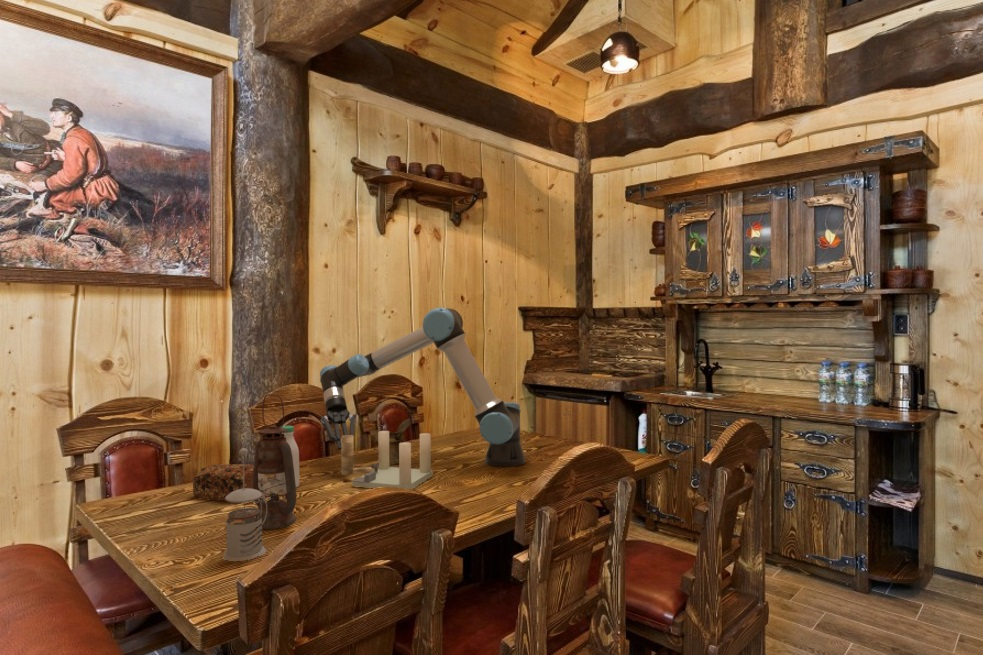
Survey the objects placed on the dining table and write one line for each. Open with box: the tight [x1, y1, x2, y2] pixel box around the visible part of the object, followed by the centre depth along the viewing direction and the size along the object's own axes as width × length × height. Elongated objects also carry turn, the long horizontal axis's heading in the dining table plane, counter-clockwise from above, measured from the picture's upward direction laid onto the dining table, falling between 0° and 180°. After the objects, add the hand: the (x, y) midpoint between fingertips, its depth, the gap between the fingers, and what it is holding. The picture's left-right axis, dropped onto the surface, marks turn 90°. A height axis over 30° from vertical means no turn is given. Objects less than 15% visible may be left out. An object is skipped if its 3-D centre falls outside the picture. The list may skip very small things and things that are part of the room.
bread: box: [192, 463, 264, 502], centre depth 185 cm, size 19×11×10 cm, turn 73°
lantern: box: [253, 393, 297, 530], centre depth 160 cm, size 11×16×35 cm
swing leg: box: [340, 434, 379, 476], centre depth 203 cm, size 12×4×13 cm, turn 103°
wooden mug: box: [389, 417, 411, 466], centre depth 226 cm, size 9×14×18 cm, turn 58°
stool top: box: [350, 430, 434, 491], centre depth 200 cm, size 21×21×15 cm
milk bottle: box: [274, 425, 300, 491], centre depth 194 cm, size 8×8×20 cm
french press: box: [222, 447, 267, 562], centre depth 140 cm, size 10×12×25 cm
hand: (345, 456), depth 205 cm, fingers closed, pressing on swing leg
